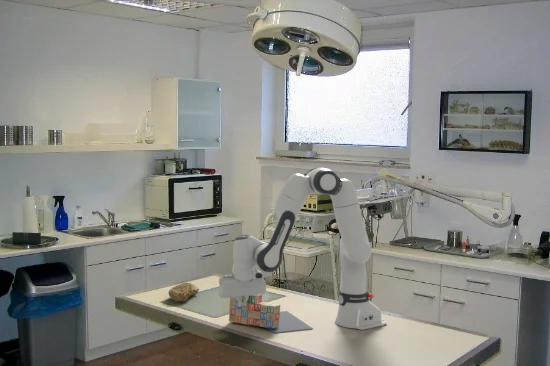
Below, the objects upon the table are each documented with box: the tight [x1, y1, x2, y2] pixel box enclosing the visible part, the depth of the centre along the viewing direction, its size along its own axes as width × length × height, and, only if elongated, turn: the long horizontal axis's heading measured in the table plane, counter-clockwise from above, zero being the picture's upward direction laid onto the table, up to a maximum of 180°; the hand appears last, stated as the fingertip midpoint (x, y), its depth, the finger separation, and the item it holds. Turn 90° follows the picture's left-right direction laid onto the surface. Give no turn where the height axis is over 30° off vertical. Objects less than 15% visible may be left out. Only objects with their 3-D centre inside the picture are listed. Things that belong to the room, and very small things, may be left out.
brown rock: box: [168, 282, 200, 303], centre depth 302 cm, size 13×8×20 cm
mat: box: [266, 310, 314, 334], centre depth 271 cm, size 18×26×1 cm
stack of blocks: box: [228, 295, 281, 329], centre depth 265 cm, size 21×6×12 cm, turn 62°
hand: (242, 306), depth 262 cm, fingers closed
